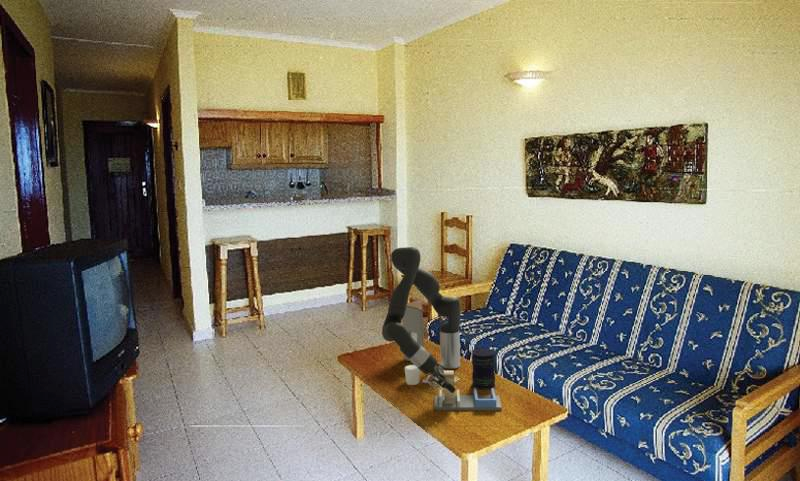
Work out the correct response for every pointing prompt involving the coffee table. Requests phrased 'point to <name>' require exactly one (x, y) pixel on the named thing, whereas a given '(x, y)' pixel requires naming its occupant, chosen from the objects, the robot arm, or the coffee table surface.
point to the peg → (448, 395)
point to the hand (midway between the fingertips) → (453, 388)
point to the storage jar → (483, 368)
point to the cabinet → (414, 322)
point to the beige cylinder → (412, 374)
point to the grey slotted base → (469, 402)
